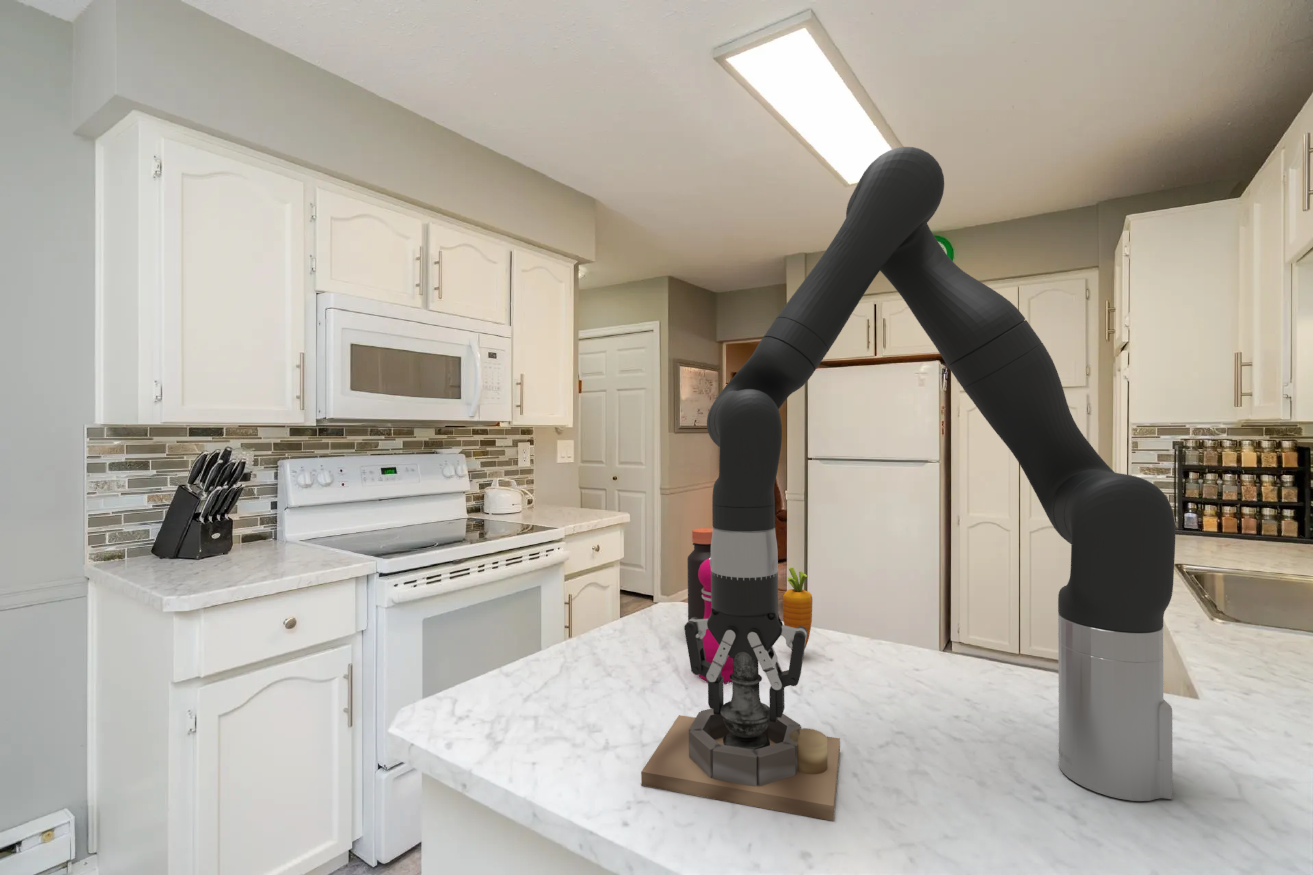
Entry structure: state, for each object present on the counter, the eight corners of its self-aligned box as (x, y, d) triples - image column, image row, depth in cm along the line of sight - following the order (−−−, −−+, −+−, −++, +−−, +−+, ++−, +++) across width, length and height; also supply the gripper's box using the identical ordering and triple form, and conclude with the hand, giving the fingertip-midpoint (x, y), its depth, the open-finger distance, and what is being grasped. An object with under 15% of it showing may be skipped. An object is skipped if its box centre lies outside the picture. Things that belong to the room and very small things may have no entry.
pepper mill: (749, 672, 98) (748, 545, 98) (729, 688, 92) (728, 553, 92) (708, 663, 102) (707, 541, 102) (687, 678, 96) (685, 549, 96)
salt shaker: (772, 757, 67) (771, 647, 67) (717, 752, 68) (716, 644, 68) (773, 731, 73) (771, 629, 73) (722, 727, 74) (721, 627, 74)
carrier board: (840, 750, 74) (839, 713, 74) (833, 821, 61) (833, 775, 61) (679, 726, 80) (678, 691, 80) (641, 785, 67) (641, 743, 67)
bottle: (686, 644, 111) (684, 532, 111) (690, 632, 118) (689, 527, 118) (724, 645, 110) (723, 533, 110) (726, 633, 117) (725, 527, 117)
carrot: (816, 663, 101) (815, 572, 101) (786, 663, 101) (785, 572, 101) (809, 652, 106) (808, 565, 106) (780, 652, 106) (779, 565, 106)
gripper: (812, 563, 72) (813, 709, 72) (691, 557, 76) (693, 694, 76) (805, 578, 64) (807, 740, 65) (673, 570, 69) (675, 721, 69)
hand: (745, 714), depth 70 cm, fingers closed on salt shaker, 5 cm apart
